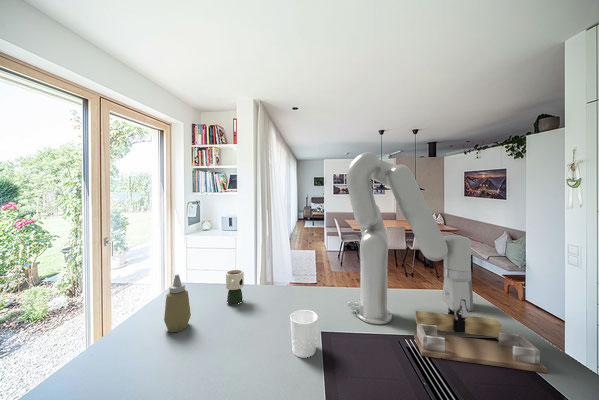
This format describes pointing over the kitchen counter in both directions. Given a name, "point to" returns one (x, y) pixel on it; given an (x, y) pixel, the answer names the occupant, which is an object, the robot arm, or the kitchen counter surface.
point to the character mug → (234, 285)
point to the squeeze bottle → (177, 307)
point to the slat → (471, 324)
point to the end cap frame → (480, 349)
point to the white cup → (304, 332)
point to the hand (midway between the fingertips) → (456, 327)
